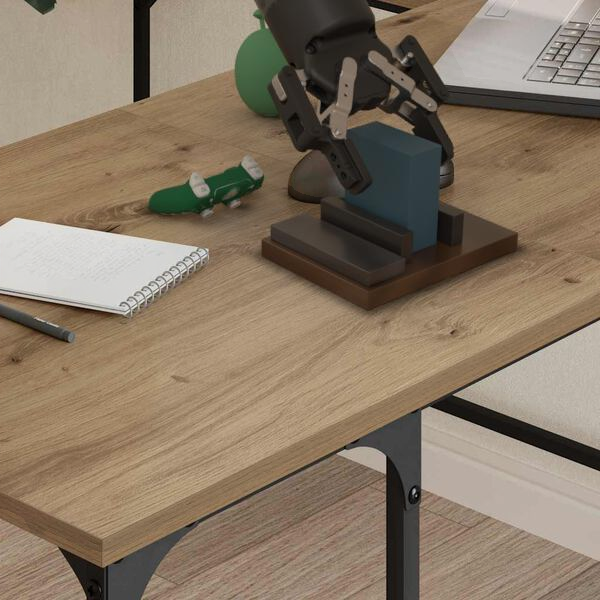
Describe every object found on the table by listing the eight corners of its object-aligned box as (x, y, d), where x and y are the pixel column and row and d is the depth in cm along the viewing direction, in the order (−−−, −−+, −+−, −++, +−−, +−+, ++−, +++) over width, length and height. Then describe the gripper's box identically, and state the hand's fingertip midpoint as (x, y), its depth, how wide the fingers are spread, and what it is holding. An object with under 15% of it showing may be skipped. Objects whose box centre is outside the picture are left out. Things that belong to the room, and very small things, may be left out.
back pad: (406, 255, 106) (411, 155, 102) (343, 226, 110) (345, 129, 107) (436, 244, 108) (442, 145, 104) (373, 216, 112) (376, 120, 109)
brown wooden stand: (367, 310, 101) (369, 260, 99) (261, 256, 109) (260, 208, 107) (517, 250, 110) (521, 202, 109) (408, 204, 118) (410, 159, 117)
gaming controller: (162, 241, 116) (194, 209, 111) (141, 201, 116) (172, 167, 111) (248, 211, 121) (281, 180, 117) (227, 173, 122) (260, 140, 117)
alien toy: (325, 118, 137) (326, 17, 133) (253, 130, 134) (252, 27, 129) (293, 97, 143) (293, -1, 138) (223, 108, 140) (221, 9, 135)
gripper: (255, -20, 101) (360, 176, 99) (398, -49, 109) (498, 131, 107) (211, 36, 107) (309, 222, 104) (350, 5, 115) (444, 176, 113)
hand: (405, 176), depth 106 cm, fingers open, 8 cm apart
